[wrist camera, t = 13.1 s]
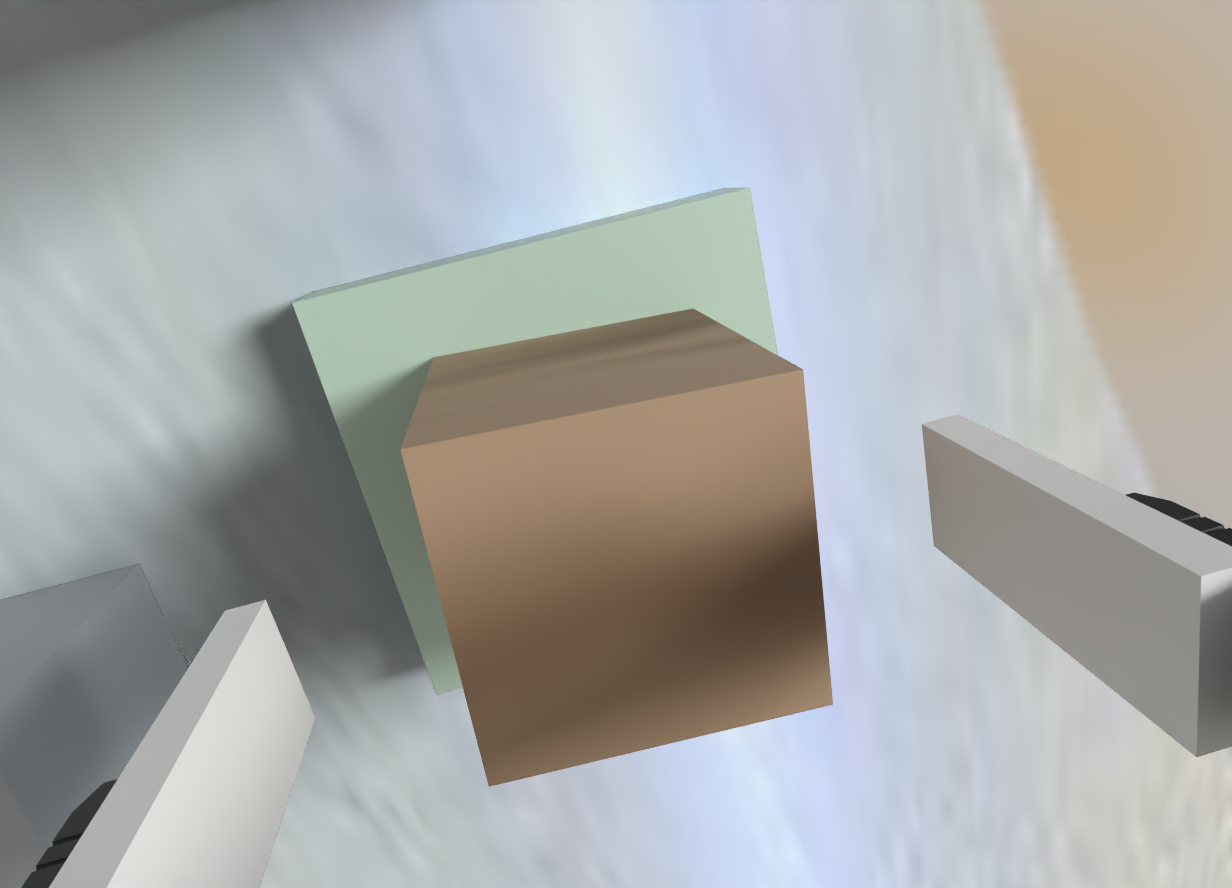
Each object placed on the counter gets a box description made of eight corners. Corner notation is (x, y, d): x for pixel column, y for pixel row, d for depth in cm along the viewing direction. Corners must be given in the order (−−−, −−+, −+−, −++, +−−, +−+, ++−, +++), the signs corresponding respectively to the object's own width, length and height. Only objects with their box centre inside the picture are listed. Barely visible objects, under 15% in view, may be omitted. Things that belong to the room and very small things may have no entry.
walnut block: (433, 357, 21) (400, 449, 13) (693, 308, 21) (802, 369, 14) (490, 592, 23) (489, 786, 15) (723, 541, 24) (832, 704, 16)
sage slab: (316, 289, 23) (292, 303, 20) (719, 188, 24) (750, 187, 21) (442, 641, 27) (436, 695, 24) (783, 544, 27) (816, 585, 25)
